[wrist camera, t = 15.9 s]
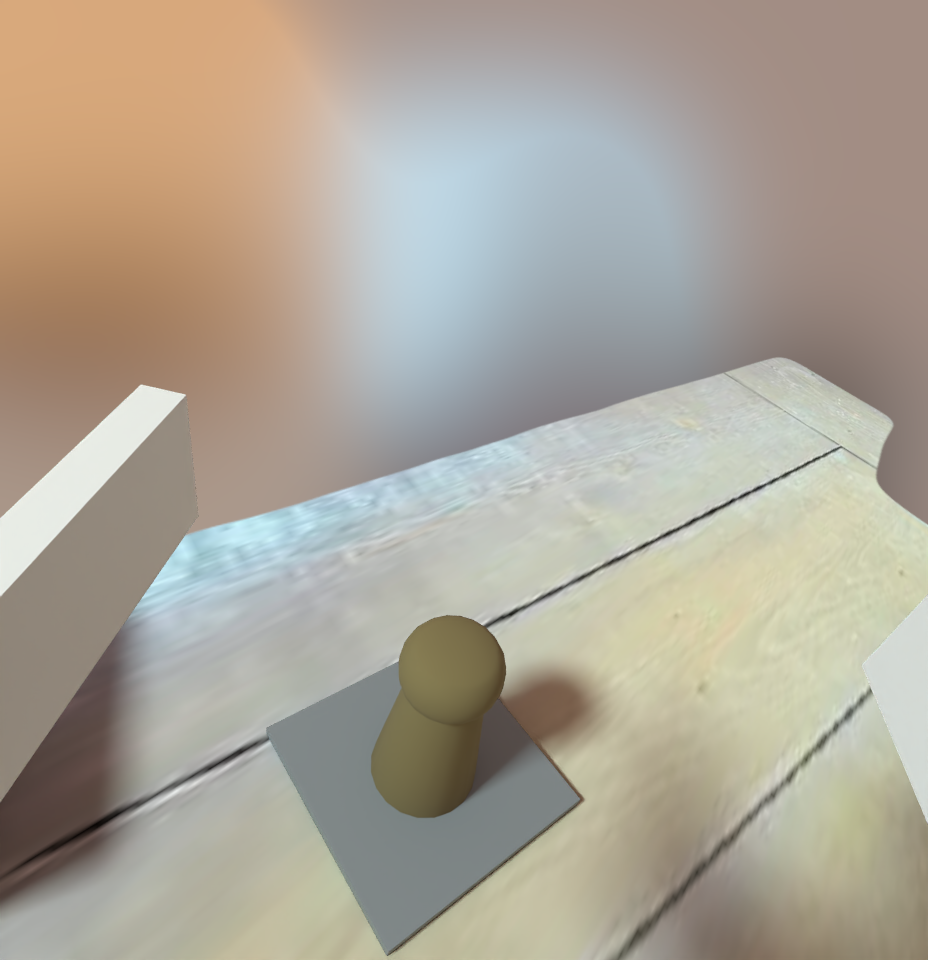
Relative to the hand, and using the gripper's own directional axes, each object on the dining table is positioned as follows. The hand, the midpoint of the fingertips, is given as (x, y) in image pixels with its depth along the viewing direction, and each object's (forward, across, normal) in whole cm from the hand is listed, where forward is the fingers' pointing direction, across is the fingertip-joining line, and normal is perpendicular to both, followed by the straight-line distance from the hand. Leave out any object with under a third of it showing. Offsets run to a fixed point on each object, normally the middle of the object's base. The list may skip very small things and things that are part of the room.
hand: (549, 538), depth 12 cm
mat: (+10, 0, -29) cm, 31 cm away
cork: (+10, 0, -28) cm, 30 cm away
